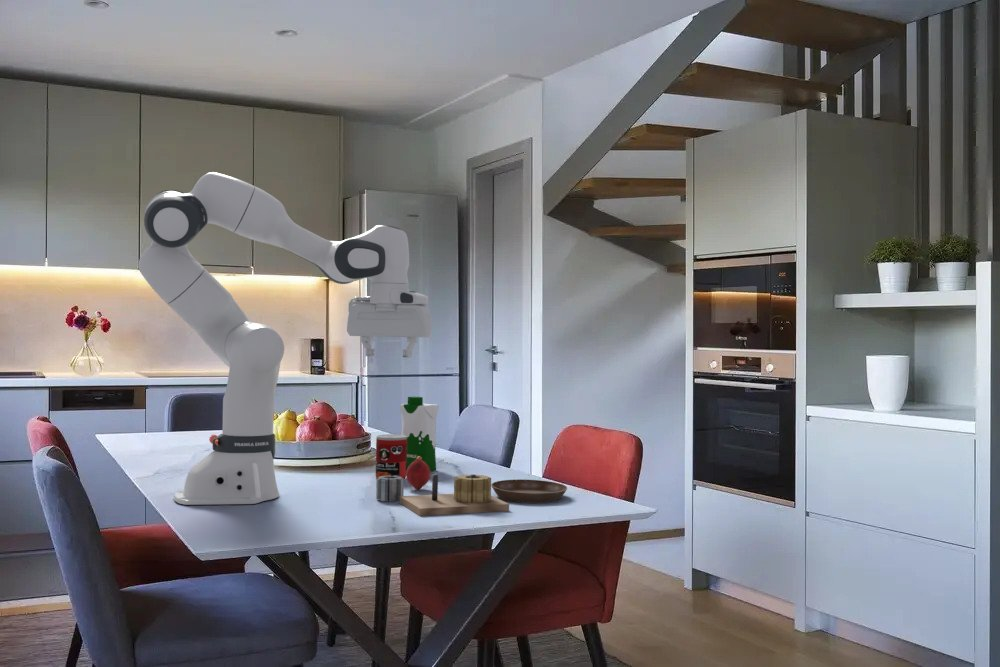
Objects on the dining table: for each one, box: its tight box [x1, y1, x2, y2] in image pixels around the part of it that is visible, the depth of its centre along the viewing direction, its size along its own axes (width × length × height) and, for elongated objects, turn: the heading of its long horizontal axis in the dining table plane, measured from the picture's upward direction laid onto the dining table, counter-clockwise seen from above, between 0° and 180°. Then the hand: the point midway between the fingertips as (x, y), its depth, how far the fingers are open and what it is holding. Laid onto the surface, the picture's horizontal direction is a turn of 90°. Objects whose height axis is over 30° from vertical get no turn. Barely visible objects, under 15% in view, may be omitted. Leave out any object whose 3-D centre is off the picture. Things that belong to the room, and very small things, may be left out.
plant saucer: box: [491, 478, 568, 504], centre depth 224 cm, size 18×18×3 cm
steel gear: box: [375, 476, 405, 503], centre depth 217 cm, size 6×6×5 cm
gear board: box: [399, 473, 510, 517], centre depth 210 cm, size 20×15×7 cm
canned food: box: [375, 433, 407, 481], centre depth 246 cm, size 8×8×11 cm
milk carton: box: [399, 396, 440, 472], centre depth 261 cm, size 9×9×20 cm
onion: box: [406, 456, 432, 491], centre depth 231 cm, size 6×6×8 cm
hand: (388, 356), depth 222 cm, fingers open, 8 cm apart
